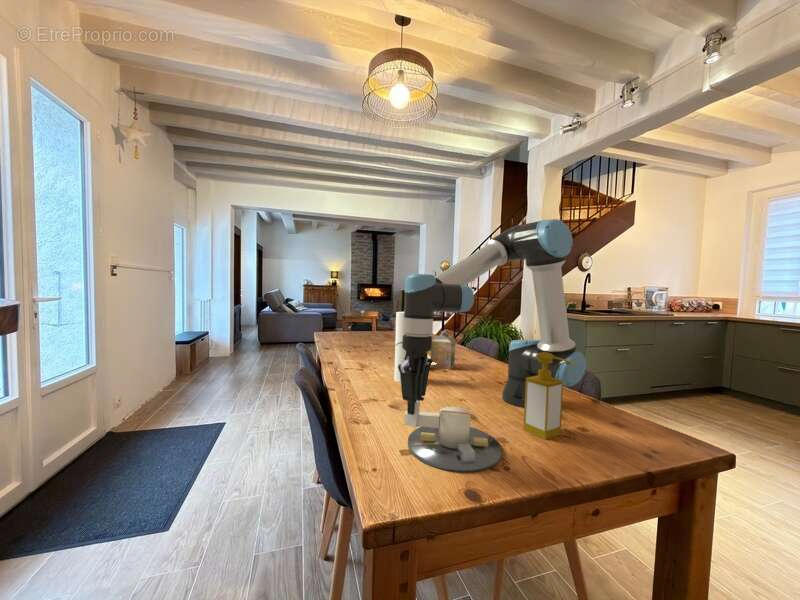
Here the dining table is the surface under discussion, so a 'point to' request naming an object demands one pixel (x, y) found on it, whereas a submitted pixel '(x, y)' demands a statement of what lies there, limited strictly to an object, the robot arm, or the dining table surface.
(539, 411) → the soap bottle
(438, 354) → the milk carton
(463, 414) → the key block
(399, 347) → the container
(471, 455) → the post base
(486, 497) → the dining table surface
